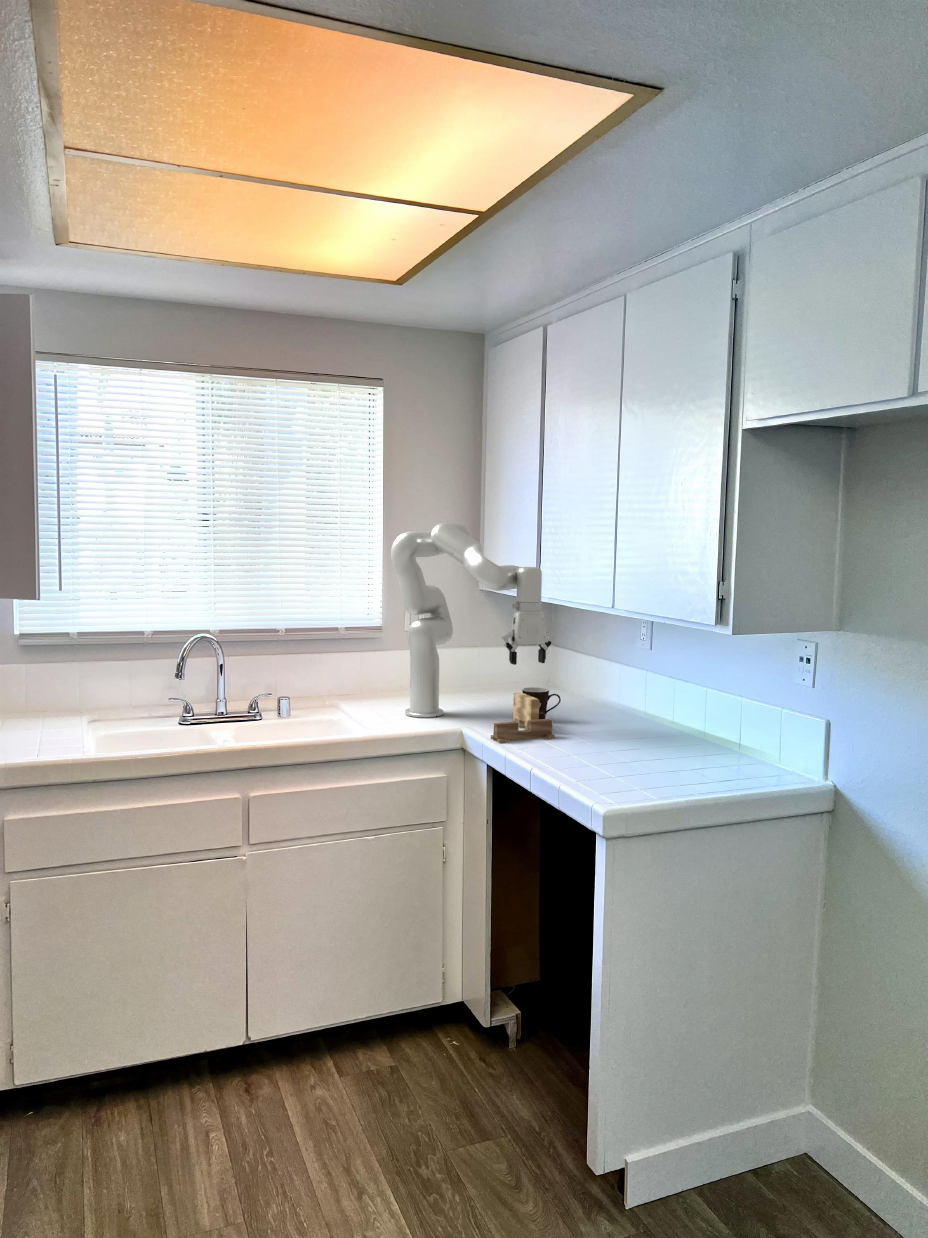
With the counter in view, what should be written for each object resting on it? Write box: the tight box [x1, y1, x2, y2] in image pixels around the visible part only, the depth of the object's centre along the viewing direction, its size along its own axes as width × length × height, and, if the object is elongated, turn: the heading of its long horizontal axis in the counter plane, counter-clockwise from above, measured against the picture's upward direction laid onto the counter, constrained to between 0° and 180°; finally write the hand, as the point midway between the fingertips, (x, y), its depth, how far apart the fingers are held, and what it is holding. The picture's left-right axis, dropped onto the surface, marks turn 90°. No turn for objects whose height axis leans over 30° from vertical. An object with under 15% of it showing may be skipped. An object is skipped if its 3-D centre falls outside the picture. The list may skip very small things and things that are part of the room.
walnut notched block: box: [490, 718, 556, 744], centre depth 265 cm, size 6×18×5 cm, turn 113°
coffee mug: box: [521, 686, 562, 719], centre depth 289 cm, size 12×9×10 cm
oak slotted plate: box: [512, 692, 539, 730], centre depth 279 cm, size 12×3×10 cm, turn 23°
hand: (527, 663), depth 277 cm, fingers open, 9 cm apart
